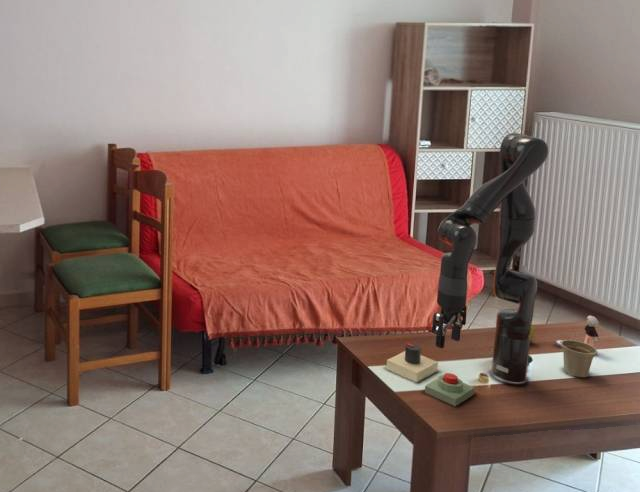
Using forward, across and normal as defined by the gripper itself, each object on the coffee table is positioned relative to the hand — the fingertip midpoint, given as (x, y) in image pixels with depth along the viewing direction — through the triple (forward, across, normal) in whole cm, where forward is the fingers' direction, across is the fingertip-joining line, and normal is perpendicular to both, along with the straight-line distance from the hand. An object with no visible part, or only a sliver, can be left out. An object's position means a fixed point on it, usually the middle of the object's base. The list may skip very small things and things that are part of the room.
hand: (447, 343), depth 199 cm
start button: (+11, 0, -2) cm, 11 cm away
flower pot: (+14, +45, -18) cm, 50 cm away
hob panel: (+14, +3, +12) cm, 19 cm away
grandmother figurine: (+14, +64, -14) cm, 67 cm away
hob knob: (+11, +3, +12) cm, 17 cm away
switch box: (+14, 0, -2) cm, 14 cm away
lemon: (+14, +53, +1) cm, 55 cm away
